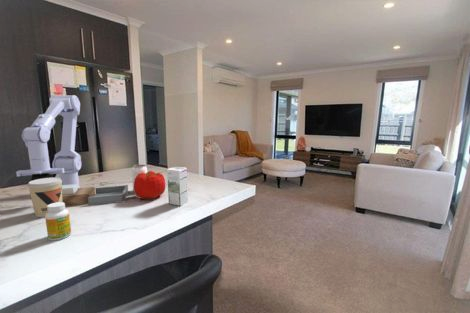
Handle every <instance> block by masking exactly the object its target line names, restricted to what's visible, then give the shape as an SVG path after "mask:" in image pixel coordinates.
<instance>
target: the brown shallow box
mask: <svg viewBox="0 0 470 313" xmlns="http://www.w3.org/2000/svg"><path fill="white" fill-rule="evenodd" d="M95 188H96V186H88V187H82V188H78V190H77V191H76V192H75V193H74V194H64V195H62V202H64V203H65V207H68V206H77V205H87V204H88V205H89V202H88V197H94V196H95V194H96V190H95Z"/></svg>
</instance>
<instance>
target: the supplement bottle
mask: <svg viewBox="0 0 470 313" xmlns="http://www.w3.org/2000/svg"><path fill="white" fill-rule="evenodd" d="M47 210H48V211H49V212H48V213H47V214H46V215H45V217H44V220H45V224H46V232H47V233H46V234H47V239H48V240H49V241H59V240H64V239H66V238H68V237H70V236H71V235H72V228H71V219H70V212H69V210H68V209H67V208H66V206H65V203H64V202H56V203H52V204H49V205H48V206H47Z"/></svg>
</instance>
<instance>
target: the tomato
mask: <svg viewBox="0 0 470 313" xmlns="http://www.w3.org/2000/svg"><path fill="white" fill-rule="evenodd" d="M165 191H166V179H165V176H164V175H163V174H162V173H159V172H157V173H156V172H155V171H153V170H149V171H147V173H146V174H145V173H141V174H138V176H137V177H136V178H135V180H134V191H133V192H134V195H135V196H136V197H138V198H140V200H141V199H142V200H147V199H153V200H154V199H156V198H158V197H160V196H162V195H163V194H164V193H165Z"/></svg>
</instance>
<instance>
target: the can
mask: <svg viewBox="0 0 470 313" xmlns="http://www.w3.org/2000/svg"><path fill="white" fill-rule="evenodd" d="M147 172H148V168H147V165H145V164H134V165H132V168H131V178H132V180H131V181H132V190H133V192H134V180H135V178H136V177H137V176H138V174H141V173H145V174H146V173H147Z"/></svg>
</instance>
